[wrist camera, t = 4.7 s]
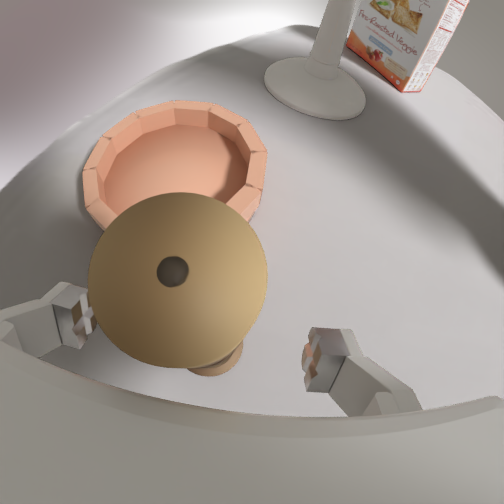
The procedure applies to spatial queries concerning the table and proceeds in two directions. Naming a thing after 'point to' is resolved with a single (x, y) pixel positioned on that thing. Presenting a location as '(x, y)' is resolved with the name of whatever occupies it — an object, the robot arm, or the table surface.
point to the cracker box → (404, 37)
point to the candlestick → (320, 72)
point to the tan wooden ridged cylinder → (178, 282)
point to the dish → (175, 159)
